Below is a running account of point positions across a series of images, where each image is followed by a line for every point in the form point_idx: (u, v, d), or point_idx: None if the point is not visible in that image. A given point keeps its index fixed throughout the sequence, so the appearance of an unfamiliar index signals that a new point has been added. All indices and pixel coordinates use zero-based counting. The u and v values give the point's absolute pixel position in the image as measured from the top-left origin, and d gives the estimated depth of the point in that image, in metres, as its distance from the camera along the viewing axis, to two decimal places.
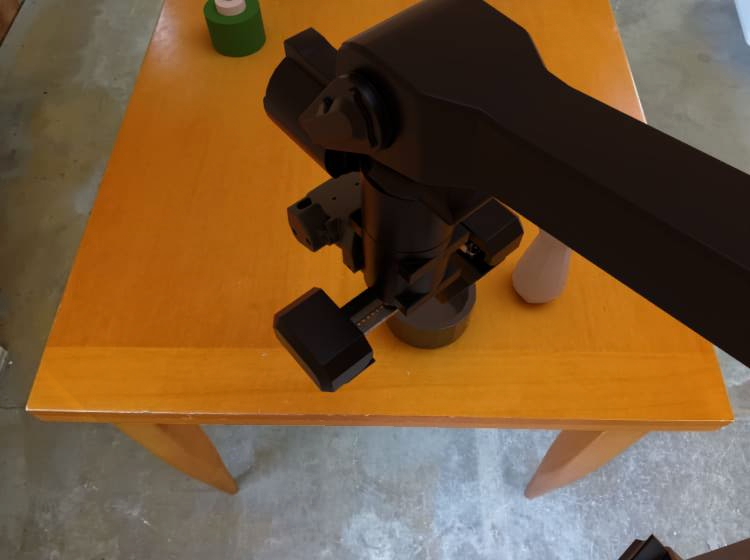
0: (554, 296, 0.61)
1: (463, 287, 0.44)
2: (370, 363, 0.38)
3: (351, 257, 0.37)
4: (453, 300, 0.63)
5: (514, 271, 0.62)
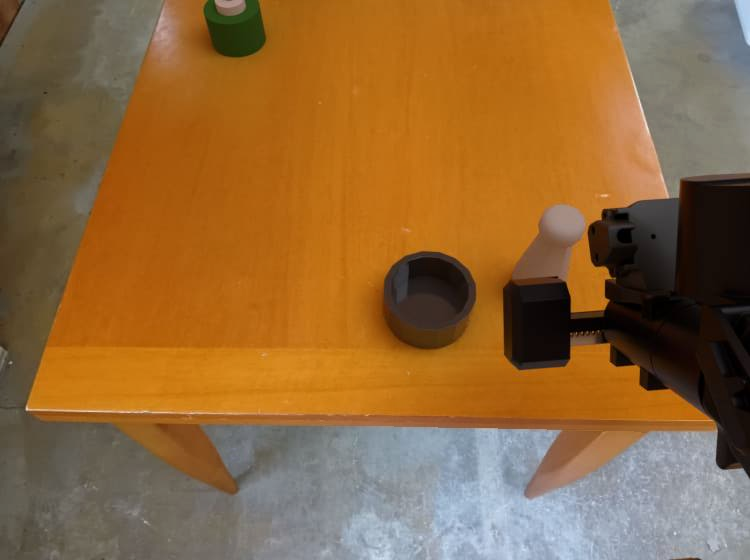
0: None
1: None
2: None
3: (616, 300, 0.37)
4: (453, 300, 0.63)
5: (514, 271, 0.62)
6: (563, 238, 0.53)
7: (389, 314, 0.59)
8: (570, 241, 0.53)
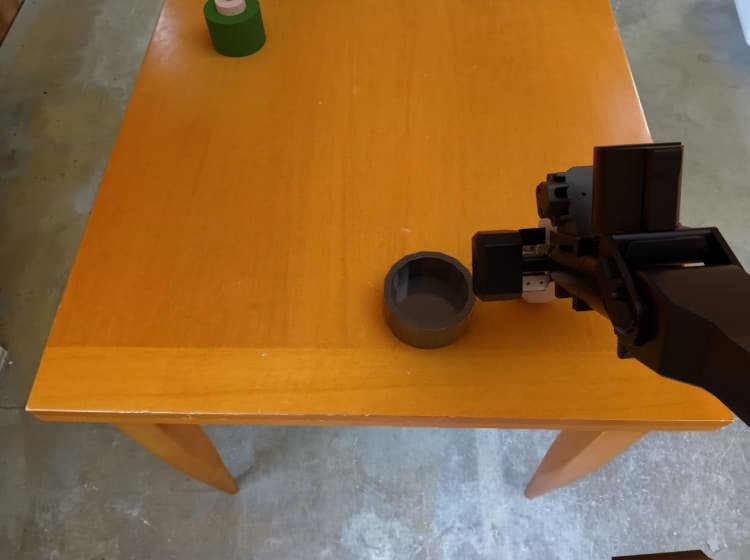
0: (554, 296, 0.61)
1: None
2: (540, 290, 0.53)
3: (557, 244, 0.48)
4: (453, 300, 0.63)
5: None
6: None
7: (389, 314, 0.59)
8: None
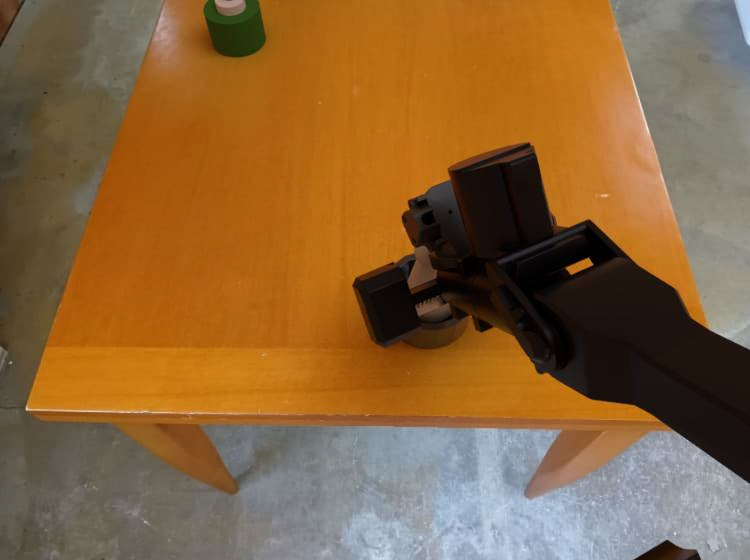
0: (450, 312, 0.59)
1: None
2: None
3: (440, 269, 0.45)
4: None
5: None
6: None
7: None
8: None
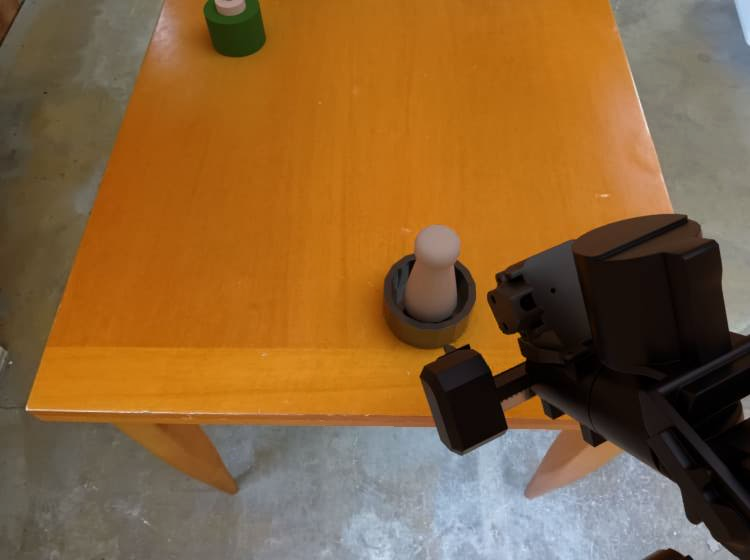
0: (450, 312, 0.59)
1: None
2: None
3: (536, 360, 0.35)
4: None
5: (404, 300, 0.60)
6: (443, 261, 0.51)
7: (389, 314, 0.59)
8: (450, 261, 0.51)
